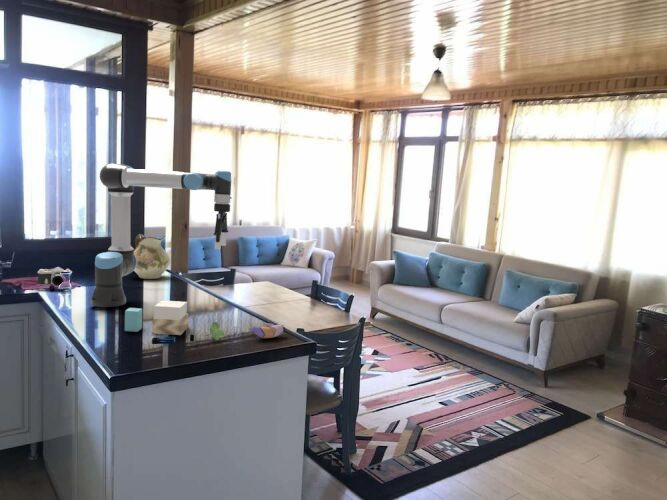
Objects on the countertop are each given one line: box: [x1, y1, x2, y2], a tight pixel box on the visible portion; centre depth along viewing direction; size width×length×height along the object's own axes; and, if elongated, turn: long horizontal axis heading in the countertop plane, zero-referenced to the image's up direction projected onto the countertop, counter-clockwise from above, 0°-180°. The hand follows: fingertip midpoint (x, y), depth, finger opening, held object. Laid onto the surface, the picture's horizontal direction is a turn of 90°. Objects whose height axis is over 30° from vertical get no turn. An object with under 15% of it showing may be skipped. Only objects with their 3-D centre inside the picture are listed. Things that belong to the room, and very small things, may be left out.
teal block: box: [124, 307, 143, 333], centre depth 211 cm, size 5×5×8 cm
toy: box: [249, 322, 286, 339], centre depth 211 cm, size 9×6×15 cm
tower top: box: [153, 300, 188, 320], centre depth 213 cm, size 10×10×5 cm
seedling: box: [205, 321, 226, 341], centre depth 207 cm, size 7×8×7 cm
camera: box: [36, 266, 73, 287], centre depth 280 cm, size 16×9×10 cm, turn 117°
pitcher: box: [133, 233, 171, 280], centre depth 317 cm, size 22×24×25 cm
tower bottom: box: [151, 313, 190, 336], centre depth 213 cm, size 11×11×6 cm
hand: (220, 247), depth 260 cm, fingers open, 13 cm apart
